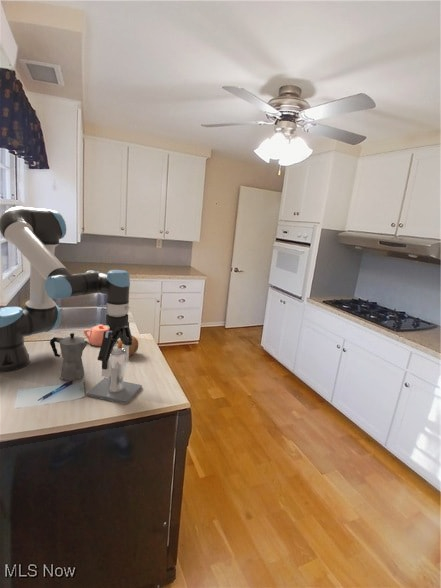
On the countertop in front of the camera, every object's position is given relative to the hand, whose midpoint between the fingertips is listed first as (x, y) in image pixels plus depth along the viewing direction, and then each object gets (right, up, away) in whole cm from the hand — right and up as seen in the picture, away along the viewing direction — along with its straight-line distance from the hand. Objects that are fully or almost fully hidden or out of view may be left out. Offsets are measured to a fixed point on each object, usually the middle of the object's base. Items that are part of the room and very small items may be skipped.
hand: (115, 368), depth 113 cm
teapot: (-23, +2, +46) cm, 51 cm away
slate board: (-1, -9, +2) cm, 10 cm away
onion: (-6, -2, +34) cm, 34 cm away
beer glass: (-1, -8, +2) cm, 9 cm away
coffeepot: (-23, -5, +11) cm, 26 cm away
